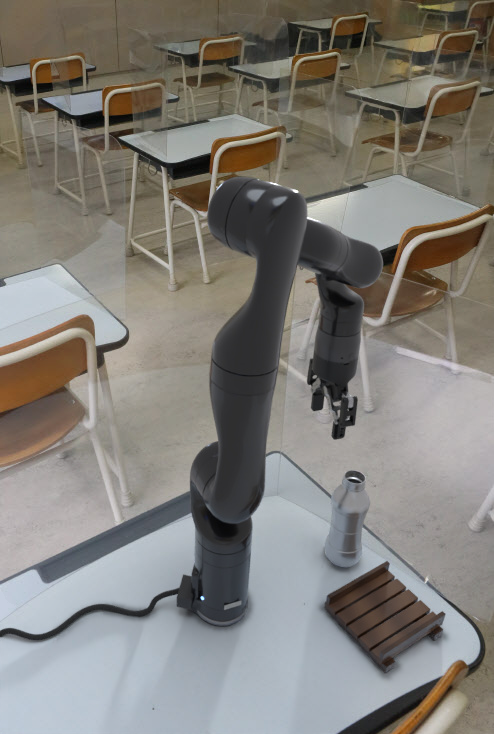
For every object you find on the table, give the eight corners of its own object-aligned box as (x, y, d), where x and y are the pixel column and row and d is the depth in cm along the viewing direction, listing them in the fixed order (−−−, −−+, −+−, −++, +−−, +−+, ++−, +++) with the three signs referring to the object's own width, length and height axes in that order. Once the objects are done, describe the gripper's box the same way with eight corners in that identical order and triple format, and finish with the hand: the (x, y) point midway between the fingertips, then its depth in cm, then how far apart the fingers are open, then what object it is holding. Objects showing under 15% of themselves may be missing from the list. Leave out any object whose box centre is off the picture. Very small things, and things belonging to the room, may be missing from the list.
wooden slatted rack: (382, 674, 107) (386, 657, 105) (321, 608, 118) (324, 592, 116) (444, 633, 113) (449, 616, 111) (380, 574, 124) (384, 558, 122)
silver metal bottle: (361, 574, 124) (376, 492, 114) (322, 569, 125) (335, 487, 115) (359, 547, 129) (374, 466, 119) (322, 542, 130) (334, 461, 120)
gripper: (299, 331, 123) (292, 404, 131) (335, 374, 111) (325, 452, 119) (337, 325, 124) (328, 398, 133) (377, 367, 112) (364, 444, 121)
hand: (326, 423), depth 126 cm, fingers open, 8 cm apart
